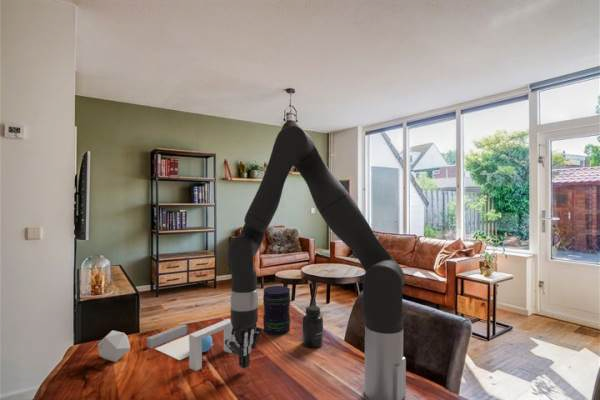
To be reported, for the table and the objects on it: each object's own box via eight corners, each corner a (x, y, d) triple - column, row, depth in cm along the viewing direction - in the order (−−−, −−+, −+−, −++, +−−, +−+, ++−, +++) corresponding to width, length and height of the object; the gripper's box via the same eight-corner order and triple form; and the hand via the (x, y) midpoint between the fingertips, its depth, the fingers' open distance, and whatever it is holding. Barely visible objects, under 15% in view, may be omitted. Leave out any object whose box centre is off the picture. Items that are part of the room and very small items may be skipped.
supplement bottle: (321, 349, 109) (321, 312, 109) (300, 347, 110) (300, 310, 110) (324, 340, 116) (324, 305, 116) (304, 338, 117) (304, 304, 117)
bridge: (234, 350, 108) (234, 320, 108) (196, 371, 96) (195, 337, 96) (228, 348, 110) (228, 318, 110) (189, 367, 97) (189, 334, 97)
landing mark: (213, 344, 112) (213, 344, 112) (179, 360, 102) (179, 359, 102) (188, 335, 120) (188, 334, 120) (154, 349, 109) (154, 348, 109)
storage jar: (281, 322, 131) (281, 284, 131) (295, 331, 123) (295, 290, 123) (258, 328, 126) (258, 288, 125) (271, 338, 118) (271, 295, 117)
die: (107, 354, 107) (88, 337, 102) (133, 336, 110) (117, 319, 105) (111, 373, 101) (92, 356, 96) (138, 354, 104) (122, 337, 99)
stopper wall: (187, 333, 121) (187, 325, 121) (150, 348, 110) (150, 339, 110) (183, 332, 122) (183, 324, 122) (147, 346, 111) (147, 337, 111)
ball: (218, 340, 108) (209, 325, 110) (203, 347, 103) (193, 331, 106) (210, 352, 110) (201, 337, 113) (195, 359, 105) (186, 343, 108)
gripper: (236, 315, 87) (236, 381, 88) (269, 301, 98) (269, 361, 99) (216, 309, 92) (217, 373, 92) (250, 297, 102) (250, 354, 103)
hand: (244, 366), depth 95 cm, fingers closed
